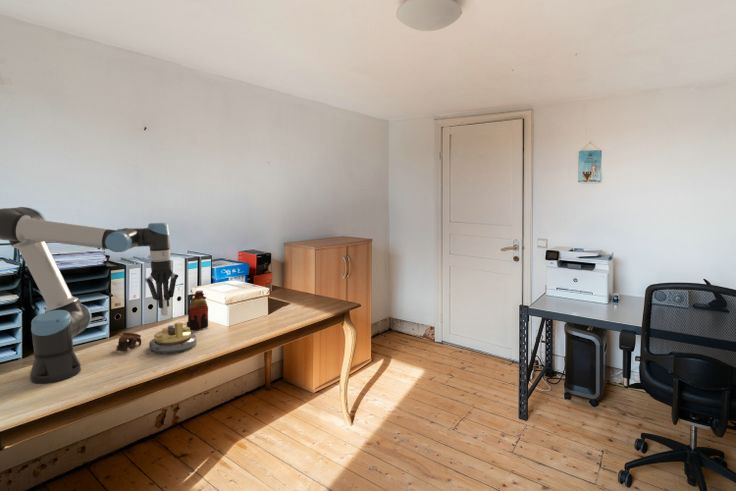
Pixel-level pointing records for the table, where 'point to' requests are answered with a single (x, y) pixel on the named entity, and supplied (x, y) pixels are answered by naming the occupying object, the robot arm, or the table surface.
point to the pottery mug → (132, 338)
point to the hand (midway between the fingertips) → (164, 314)
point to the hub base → (172, 348)
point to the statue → (198, 312)
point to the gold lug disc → (173, 335)
